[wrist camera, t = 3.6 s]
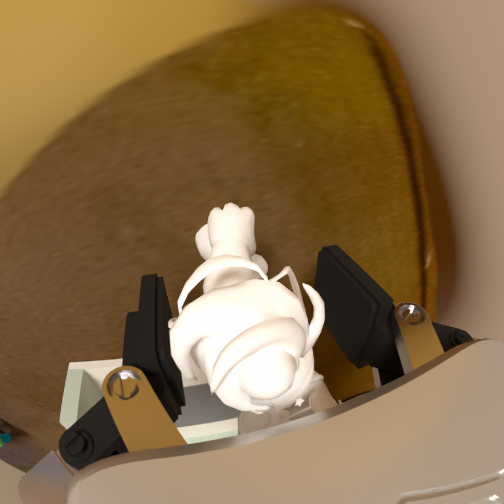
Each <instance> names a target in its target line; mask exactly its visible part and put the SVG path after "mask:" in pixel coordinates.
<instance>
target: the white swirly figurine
mask: <svg viewBox="0 0 504 504" xmlns="http://www.w3.org/2000/svg"><path fill="white" fill-rule="evenodd" d="M195 240H196V245H197V248H198V250H199V252H200V254H201V256H202V257H203V258H204V259H205V260H206V261H205V262H204V263H203V264H202V265H201V266H199V267H198V268H197V269H196V270H195V272H194V273H193V274H192V276H191V277H190V278H189V279H188V281H187V282H186V283H185V286H184V288H183V290H182V292H181V294H180V297H179V299H178V308H179V316H178V318H176V317H175V318H172V319H170V320H169V322H168V326H169V328H170V330H169V332H170V346H171V356H172V357H173V359H174V361H175V363H176V365H177V367H178V368H179V369H180V371H181V372H182V373H183V375H184V376H185V377H186V378H188V379H192V380H197V381H198V379H197V378H196V376H195V374H194V372H193V369H192V367H191V365H190V359H189V353H190V354H191V355H192V358H193V360H194V362H195V364H196V365H197V366H198V368H199V369H200V370H201V371H202V372H203V373H204V374H205V375H206V376H207V380H208V384H209V385H210V389H211V396H212V395H213V394H214V392H215V393H216V394H217V396H218V397H219V398H220V399H221V401H222V402H223V403H224V404H225V405H228V406H230V407H233V408H235V409H237V411H238V435H240V434H245V433H249V432H253V431H257V430H261V429H265V428H269V427H273V426H276V425H280V424H283V423H287V422H290V421H293V420H297V419H300V418H303V417H306V416H309V415H312V414H315V413H318V412H321V411H323V410H326V409H329V408H331V407H334V406H337V405H338V404H337V402H336V401H335V400H334V399H333V398H332V396H331V394H330V392H329V390H328V388H327V387H326V385H325V383H324V381H323V379H324V377H323V375H320V374H318V373H317V372H316V371H314V356H313V350H312V347H313V346H314V344H315V342H316V340H317V338H318V337H319V335H320V333H321V330H322V327H323V324H324V320H325V308H324V301H323V300H322V298H321V297H320V295H319V293H318V292H317V291H315V290H314V289H313V288H312V287H311V286H309V285H307V284H304V283H303V286H304V289H305V291H306V292H307V294H308V296H309V297H310V300H311V302H312V304H313V306H314V313H313V319H312V321H311V323H310V325H309V324H308V318H307V315H306V311H305V307H304V303H303V299H302V296H301V292H300V288H299V285H298V282H297V280H296V277H295V275H294V273H293V271H292V270H291V268H290V267H289V266H288V267H284V269H283V270H282V271H281V272H280V274H278V275H277V276H275V277H273V278H272V279H270V280H268V277H267V275H266V274H267V271H268V265H267V263H266V261H265V260H264V258H263V257H262V256H260V255H257V254H255V251H256V243H255V237H254V213H253V211H252V210H251V209H250V208H248V207H242V208H241V209H240V208H239V207H238V206H237V205H235V204H233V203H228V204H225V206H224V208H223V210H221V209H220V208H214V209H213V210H212V211H211V212H210V215H209V218H208V223H207V224H206V225H205V226H203V227H202V228H201V229H200V230H199V231H198V232H197V234H196V237H195ZM286 274H288V276H289V279H290V282H291V286H292V289H293V292H294V293H293V292H292V291H290V290H289V289H287V288H286V287H284V286H283V285H282V284H281V283H280V282H277V280H278V279H280V278H281V277H283V276H284V275H286ZM204 277H205V279H204V284H203V291H204V295H202V296H201V297H199V298H197V299H196V300H194V301H193V302H191V303H190V304H188V305H186V306H185V307H184V308H183V310H182V305H183V303H184V301H185V299H186V297H187V295H188V293H189V292H190V291H191V290H192V289H193V288H194V287H195V286H196V285H197V283H198V282H199V281H200V280H202V279H203V278H204ZM262 278H264V280H262ZM338 402H339V404H342V401H341V400H340V399H339V401H338Z"/></svg>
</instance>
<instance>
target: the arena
mask: <svg viewBox="0 0 504 504" xmlns="http://www.w3.org/2000/svg"><path fill="white" fill-rule="evenodd" d="M189 359H190V365H191V367H192V369H193V372H194V374H195V376H196V378H197V379H198V381H197V380H192V379H188V378H186V377H185V376H184V375H183V373H182V372H181V373H182V381H183V388H184V395H185V402H186V406H183V407H181V411H182V415H178V419H177V421H176V422H175V423H174V425H175V426H176V428H177V429H178V431H179V432H180V434H181V435H182V436H183V438H184V439H185V441H186V442H187V444H192V443H198V442H204V441H210V440H215V439H221V438H226V437H231V436H236V435H238V411H237V409H235V408H233V407H230V406H228V405H225V404H224V403H223V402H222V401H221V399H220V398H219V397H218V396H217V394H216V393H215V392H214V394H213V395H212V396H211V389H210V385H209V384H208V380H207V376H206V375H205V374H204V373H203V372H202V371H201V370H200V369H199V368H198V366H197V365H196V364H195V362H194V360H193V358H192V355H191V354H190V353H189ZM121 366H122V359H113V360H102V361H88V362H71V363H69V368H68V373H67V378H66V383H65V389H64V394H63V401H62V407H61V414H60V423H61V424H62V425H63V426H64V427H65V428H66V429H68V428H69V427H71V426H72V425H73V424H74V423H75V422H76V421H77V420H78V419H79V418H81V417H82V416H83V415H84V414H85V413H86V412H87V411H88V410H89V409H90V408H92V407H93V406H94V405H95V404H96V403H97V402H98V401H99V400H100V399H101V398H103V397H104V395H103V391H102V384H103V380H104V379H105V377H106V375H107V374H108V373H109V372H110V371H112V370H114V369H115V368H118V367H121Z"/></svg>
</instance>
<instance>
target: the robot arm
mask: <svg viewBox="0 0 504 504" xmlns="http://www.w3.org/2000/svg"><path fill="white" fill-rule="evenodd" d="M314 290H315V291H317V292H318V293H319V295H320V297H321V298H322V300H323V301H324V308H325V320H324V324H325V326H326V327H327V329H328V330H329V331H330V333H331V334H332V336H333V337H334V339H335V340H336V342H337V343H338V345H339V346H340V348H341V349H342V351H343V352H344V354H345V355H346V357H347V358H348V360H349V361H350V362H351V363H354V364H355V365H356V367H357V368H358V369H359V368H362V367H364V366H367V365H369V364H370V366H371V367H372V371H373V376H374V381H375V387H376V389H375V390H373V391H370V392H368V393H365V394H362V395H359V396H356V397H354V398H352V399H349V400H347V401H345V402H343V403H342V404H339V405H337V406H334V407H331V408H329V409H326V410H323V411H321V412H318V413H315V414H312V415H309V416H306V417H303V418H300V419H297V420H293V421H290V422H287V423H283V424H280V425H276V426H273V427H269V428H265V429H261V430H257V431H253V432H249V433H245V434H240V435H236V436H231V437H226V438H221V439H215V440H210V441H204V442H198V443H192V444H187V442H186V441H185V439H184V438H183V436H182V435H181V434H180V432H179V431H178V429H177V428H176V426H175V425H174V423H175V422H176V421H177V419H178V415H182V411H181V407H183V406H186V402H185V395H184V388H183V381H182V373H181V371H180V369H179V368H178V367H177V365H176V363H175V361H174V359H173V357H172V356H171V346H170V332H169V330H170V328H169V326H168V322H169V320H170V319H172V318H173V316H172V313H171V309H170V305H169V301H168V297H167V293H166V289H165V285H164V281H163V277H157V274H151V275H144V276H142V280H141V289H140V299H139V311H136V312H129V313H128V314H127V317H126V326H125V336H124V346H123V359H122V366H121V367H118V368H115V369H114V370H112V371H110V372H109V373H108V374H107V375H106V377H105V379H104V380H103V384H102V391H103V395H104V397H103V398H101V399H100V400H99V401H98V402H97V403H96V404H95V405H94V406H93V407H92V408H90V409H89V410H88V411H87V412H86V413H85V414H84V415H83V416H82V417H81V418H79V419H78V420H77V421H76V422H75V423H74V424H73V425H72V426H71V427H69V428H68V429H67V430H66V431H65V432H64V433H63V435H62V436H61V438H60V441H59V449H58V450H57V451H56V452H54V451H51V452H50V453H49V454H48V455H46V456H45V457H44V458H43V459H42V460H41V461H40V462H39V463H38V464H36V465H35V466H34V467H33V468H32V469H31V470H30V471H29V472H28V473H26V474H25V475H24V476H23V477H22V478H21V480H20V481H19V486H18V488H19V494H20V496H21V498H22V500H23V502H24V503H25V504H504V343H503V342H502V341H500V340H497V339H493V338H483V339H478V338H473V339H472V337H471V336H470V335H469V334H468V333H467V332H466V331H464V330H461V329H458V328H454V327H450V326H446V325H441V324H438V323H434V322H431V321H430V319H429V317H428V315H427V313H426V311H425V310H424V309H423V308H422V307H420V306H418V305H417V304H414V303H409V302H404V303H400V304H398V305H397V306H396V307H395V306H394V305H393V301H394V300H393V299H392V298H391V297H390V296H389V295H388V294H387V293H386V292H385V291H384V290H383V289H382V288H381V287H380V286H379V285H378V284H377V283H376V282H375V281H374V280H373V279H372V278H371V277H370V276H369V275H368V274H367V273H366V272H365V271H364V270H363V269H362V268H361V267H360V266H359V265H358V264H357V263H355V262H354V261H353V260H352V259H351V258H350V257H349V256H348V255H347V254H346V253H345V252H344V251H343V250H342V249H341V248H339V247H338V246H337V245H331V246H325V247H323V248H322V251H319V253H318V261H317V270H316V278H315V286H314ZM313 307H314V306H313Z"/></svg>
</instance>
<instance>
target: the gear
mask: <svg viewBox="0 0 504 504" xmlns="http://www.w3.org/2000/svg"><path fill="white" fill-rule="evenodd" d="M11 439H12V437H11V435H10V433H5V434H4V433H3V434H0V447H1V446H4V444H3V443H7V442H10V440H11Z"/></svg>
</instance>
